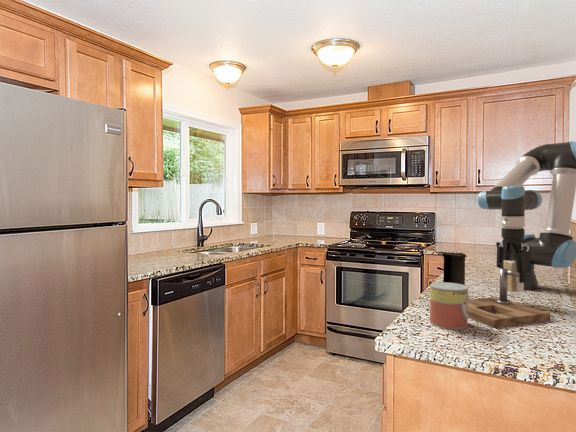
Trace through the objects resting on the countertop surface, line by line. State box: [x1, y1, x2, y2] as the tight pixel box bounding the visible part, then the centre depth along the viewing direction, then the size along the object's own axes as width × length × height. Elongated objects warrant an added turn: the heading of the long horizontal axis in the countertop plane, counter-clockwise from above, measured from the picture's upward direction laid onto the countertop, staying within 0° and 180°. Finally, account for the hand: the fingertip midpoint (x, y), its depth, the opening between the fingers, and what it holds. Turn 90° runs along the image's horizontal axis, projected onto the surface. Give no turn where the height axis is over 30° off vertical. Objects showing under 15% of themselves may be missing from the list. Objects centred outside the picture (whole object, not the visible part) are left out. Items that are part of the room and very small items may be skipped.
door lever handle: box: [495, 268, 520, 304], centre depth 142 cm, size 5×8×12 cm, turn 17°
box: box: [504, 260, 518, 293], centre depth 152 cm, size 5×4×11 cm
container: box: [442, 252, 467, 285], centre depth 158 cm, size 9×9×18 cm
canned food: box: [429, 281, 469, 330], centre depth 129 cm, size 11×11×12 cm
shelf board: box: [468, 296, 551, 329], centre depth 138 cm, size 23×22×2 cm
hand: (512, 289), depth 152 cm, fingers closed on box, 6 cm apart
